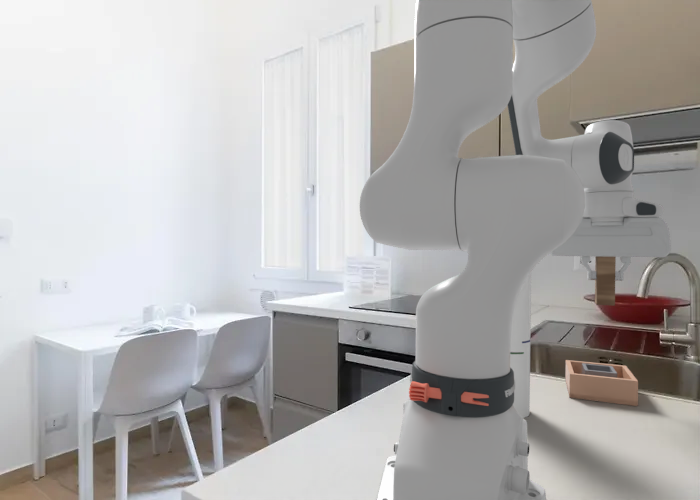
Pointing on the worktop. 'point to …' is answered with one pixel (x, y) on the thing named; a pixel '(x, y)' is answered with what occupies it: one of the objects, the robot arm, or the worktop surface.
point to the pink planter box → (601, 382)
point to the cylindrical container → (521, 349)
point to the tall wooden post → (605, 280)
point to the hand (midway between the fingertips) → (604, 280)
